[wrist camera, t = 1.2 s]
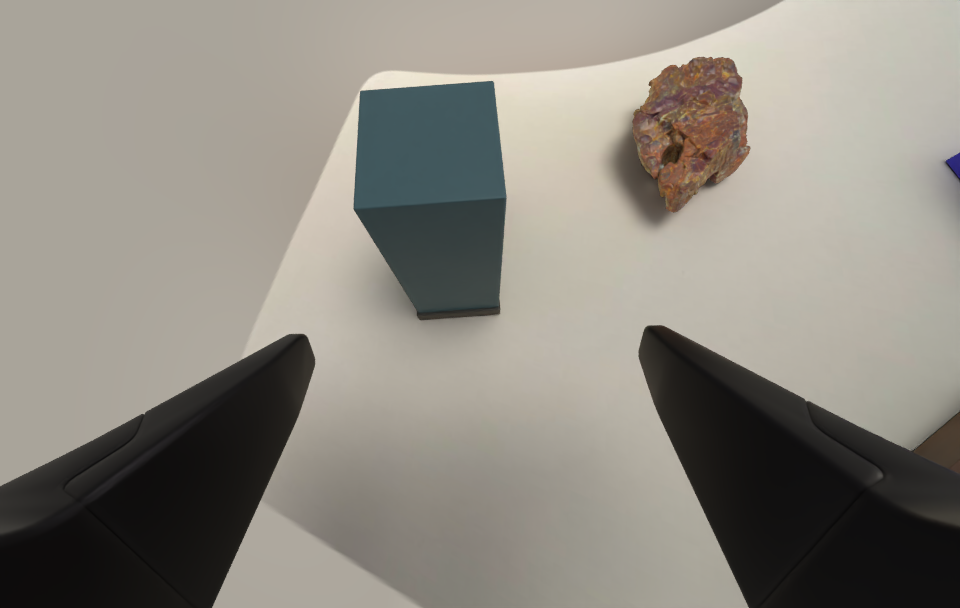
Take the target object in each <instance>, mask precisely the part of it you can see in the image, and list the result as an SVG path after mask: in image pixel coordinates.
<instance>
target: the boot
mask: <svg viewBox="0 0 960 608" xmlns="http://www.w3.org/2000/svg"><path fill="white" fill-rule="evenodd" d="M354 211H355V212H356V214H357V215H358V217H359V219H360V220H361V222H362V223H363V225H364V227H365V228H366V230H367V231H368V233H369V235H370V236H371V238H372V239H373V241H374V243H375V244H376V246H377V247H378V249H379V250H380V252H381V254H382V255H383V257H384V258H385V260H386V262H387V263H388V265H389V266H390V268H391V270H392V271H393V273H394V274H395V276H396V278H397V279H398V281H399V282H400V284H401V286H402V287H403V289H404V290H405V292H406V294H407V295H408V297H409V298H410V300H411V302H412V303H413V305H414V306H415V308H416V310H417V316H418V318H419V319H420V320H426V319H440V318H453V317H467V316H481V315H494V314H500V301H499V293H500V279H501V266H502V252H503V238H504V225H505V211H506V188H505V179H504V170H503V161H502V152H501V143H500V134H499V125H498V116H497V107H496V98H495V89H494V82H493V81H486V82H472V83H459V84H446V85H432V86H419V87H406V88H392V89H379V90H366V91H360V104H359V121H358V139H357V156H356V174H355V192H354Z"/></svg>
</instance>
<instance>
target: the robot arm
mask: <svg viewBox="0 0 960 608" xmlns="http://www.w3.org/2000/svg"><path fill="white" fill-rule="evenodd" d="M639 360H640V363H641V366H642V369H643V372H644V375H645V378H646V381H647V384H648V387H649V390H650V393H651V396H652V399H653V402H654V405H655V407H656V410H657V412H658V415H659V417H660V419H661V421H662V423H663V425H664V428H665V430H666V432H667V434H668V436H669V438H670V440H671V442H672V445H673V447H674V449H675V451H676V453H677V455H678V457H679V460H680V462H681V464H682V466H683V468H684V470H685V472H686V474H687V477H688V479H689V481H690V483H691V485H692V487H693V489H694V492H695V494H696V496H697V498H698V500H699V502H700V504H701V506H702V509H703V511H704V513H705V515H706V517H707V519H708V521H709V523H710V526H711V528H712V530H713V532H714V534H715V536H716V538H717V541H718V543H719V545H720V547H721V549H722V551H723V553H724V555H725V558H726V560H727V562H728V564H729V566H730V568H731V570H732V573H733V575H734V577H735V579H736V581H737V583H738V585H739V587H740V590H741V592H742V594H743V596H744V598H745V600H746V602H747V605H748V607H749V608H960V474H959V473H957V472H955V471H953V470H950V469H948V468H946V467H944V466H942V465H940V464H937V463H935V462H933V461H931V460H929V459H927V458H925V457H922V456H920V455H918V454H916V453H914V452H912V451H909V450H907V449H905V448H903V447H901V446H899V445H896V444H894V443H892V442H890V441H888V440H886V439H884V438H882V437H880V436H878V435H875V434H873V433H871V432H869V431H867V430H865V429H863V428H861V427H859V426H857V425H855V424H853V423H851V422H849V421H847V420H845V419H843V418H841V417H839V416H837V415H835V414H833V413H831V412H829V411H827V410H825V409H823V408H821V407H819V406H817V405H815V404H813V403H812V402H810V401H805V399H804V398H802V397H800V396H798V395H796V394H794V393H792V392H790V391H788V390H786V389H784V388H782V387H781V386H779V385H777V384H775V383H773V382H771V381H769V380H767V379H765V378H763V377H761V376H759V375H757V374H755V373H754V372H752V371H750V370H748V369H746V368H744V367H742V366H740V365H738V364H736V363H734V362H732V361H730V360H729V359H727V358H725V357H723V356H721V355H719V354H717V353H715V352H713V351H711V350H709V349H707V348H705V347H703V346H702V345H700V344H698V343H696V342H694V341H692V340H690V339H688V338H686V337H684V336H682V335H680V334H678V333H677V332H675V331H673V330H671V329H669V328H667V327H665V326H662V325H654V326H647V327H646V328H645V329H644V332H643V336H642V340H641V344H640V348H639ZM314 367H315V357H314V354H313V351H312V348H311V345H310V343H309V340H308V337H307V336H306V335H304V334H289V335H286V336H285V337H283V338H281V339H279V340H277V341H275V342H274V343H272V344H270V345H268V346H266V347H264V348H263V349H261V350H259V351H257V352H255V353H253V354H252V355H250V356H248V357H246V358H244V359H242V360H241V361H239V362H237V363H235V364H233V365H231V366H230V367H228V368H226V369H224V370H222V371H221V372H219V373H217V374H215V375H213V376H211V377H209V378H207V379H206V380H204V381H202V382H200V383H199V384H196V385H195V386H193V387H191V388H189V389H187V390H185V391H184V392H182V393H180V394H178V395H176V396H174V397H173V398H171V399H169V400H167V401H165V402H163V403H161V404H160V405H158V406H156V407H154V408H152V409H151V410H149V411H147V412H146V413H145V415H144V414H141V415H139V416H137V417H136V418H134V419H132V420H130V421H128V422H126V423H125V424H123V425H121V426H119V427H117V428H115V429H113V430H111V431H110V432H108V433H106V434H104V435H102V436H100V437H98V438H96V439H94V440H93V441H91V442H89V443H87V444H85V445H83V446H81V447H79V448H77V449H75V450H73V451H71V452H69V453H67V454H65V455H63V456H61V457H59V458H57V459H55V460H53V461H51V462H49V463H47V464H45V465H43V466H41V467H38V468H36V469H34V470H33V471H30V472H29V473H26V474H24V475H22V476H20V477H18V478H16V479H14V480H12V481H10V482H8V483H6V484H4V485H2V486H0V608H212V606H213V604H214V602H215V600H216V597H217V595H218V593H219V591H220V589H221V586H222V584H223V582H224V580H225V578H226V575H227V573H228V571H229V569H230V567H231V564H232V562H233V560H234V558H235V556H236V553H237V551H238V549H239V546H240V544H241V542H242V540H243V538H244V536H245V533H246V531H247V529H248V527H249V524H250V522H251V520H252V518H253V516H254V514H255V511H256V509H257V507H258V505H259V502H260V500H261V498H262V496H263V494H264V491H265V489H266V487H267V485H268V483H269V480H270V478H271V476H272V474H273V472H274V469H275V467H276V465H277V463H278V461H279V458H280V456H281V454H282V452H283V449H284V447H285V445H286V443H287V441H288V438H289V436H290V434H291V432H292V430H293V427H294V425H295V423H296V420H297V418H298V416H299V413H300V410H301V407H302V404H303V401H304V398H305V395H306V392H307V389H308V386H309V383H310V379H311V376H312V373H313V370H314Z"/></svg>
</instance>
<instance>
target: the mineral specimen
mask: <svg viewBox="0 0 960 608" xmlns="http://www.w3.org/2000/svg"><path fill="white" fill-rule="evenodd" d="M649 86H651V88H650V90H649V97H648V98H647V99H646V101H645V104H644V105H643V106H641V107H640V110H639V109H637V110H635V112H634V114H633V115H634V119H633V136H634V139H635V142H636V144H637V147H638V155H639V159H640V162H641V165H642V166H644V168H645V170H646V171H647V172H648V173H650V174H651V175H652V177H653V178H654V179H656V178H658V187H659V192H660V196H662V197H665V196H666V199H665V202H666V209H667V210H668V211H671V212H673V213H674V212H678V211H679V210H680V209H681V208H682V207H683V206H684V205H685V204H687V202H688V201H689V200H690V199H691V198H692V196H693V195H696V194H697V193H698V189H699V187H701V186H702V185H704V184H705V183H706V181H707V179H708V178H709V179H710V180H711V181H712V182H713V183H716V184H717V183H719V182H721V181H722V180H723V179H724V178H726V177H728V176H730V175H731V174H732V173H733V172H734V171H736V170H737V169H738V167H739V166H740V165H741V164H742V162H743V161H744V160H745V158H746V157H747V155H748V154H749V151H750V146H746V144H747V138H746V136H747V135H746V131H747V119H748V112H747V109H746V107H745V106H744V104H743V102H742V100H741V99H740V92H741V88H742V77H740V75H738V73H737V68H736V67H735V63H734V61H733V60H731V59H730V58H723V57H721V58H715V59H713V58H712V57H709V58H705V57H697V58H693V59H692V60H691V61H690V62H689V63H688V64H687V65H684V64H683V65H682V66H681V67H679V68H678V67H677V66H676V65H670V66H668V67H667V68H665V69H664V70H663V71H662V72H661V74H660V75H659V76H658V77H657V78H655V79H653V80H651V81H650V82H649Z"/></svg>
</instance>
